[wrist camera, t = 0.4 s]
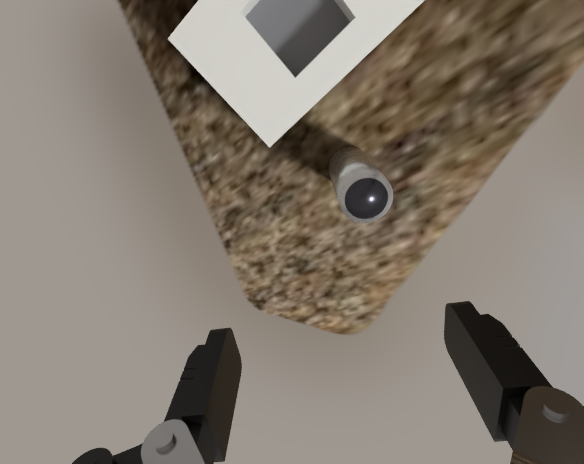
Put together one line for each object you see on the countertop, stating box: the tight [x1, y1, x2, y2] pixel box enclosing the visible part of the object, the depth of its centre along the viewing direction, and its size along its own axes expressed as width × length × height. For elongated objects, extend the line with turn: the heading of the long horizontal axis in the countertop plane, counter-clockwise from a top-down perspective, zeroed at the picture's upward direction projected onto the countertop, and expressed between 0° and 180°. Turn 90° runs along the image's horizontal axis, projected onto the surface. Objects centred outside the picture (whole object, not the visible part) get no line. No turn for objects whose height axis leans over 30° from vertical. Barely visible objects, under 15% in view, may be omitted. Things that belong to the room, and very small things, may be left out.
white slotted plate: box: [168, 0, 424, 148], centre depth 29 cm, size 18×12×5 cm, turn 133°
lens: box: [329, 147, 393, 223], centre depth 33 cm, size 4×4×10 cm
